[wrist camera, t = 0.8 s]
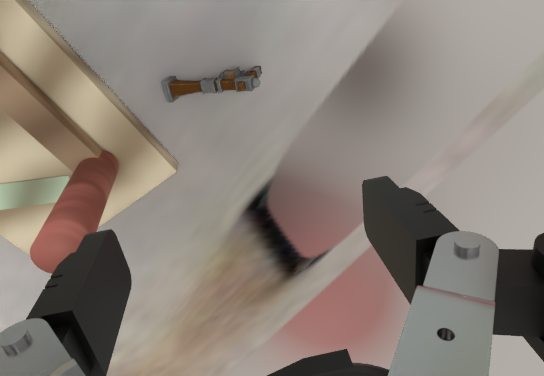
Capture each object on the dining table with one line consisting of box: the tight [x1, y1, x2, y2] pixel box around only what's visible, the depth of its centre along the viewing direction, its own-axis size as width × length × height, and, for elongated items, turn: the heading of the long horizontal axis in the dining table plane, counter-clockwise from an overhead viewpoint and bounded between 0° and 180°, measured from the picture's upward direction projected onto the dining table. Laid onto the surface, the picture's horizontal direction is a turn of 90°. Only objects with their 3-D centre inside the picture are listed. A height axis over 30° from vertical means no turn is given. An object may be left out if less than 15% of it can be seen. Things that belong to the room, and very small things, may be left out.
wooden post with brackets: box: [162, 66, 262, 103], centre depth 32 cm, size 2×8×4 cm, turn 99°
